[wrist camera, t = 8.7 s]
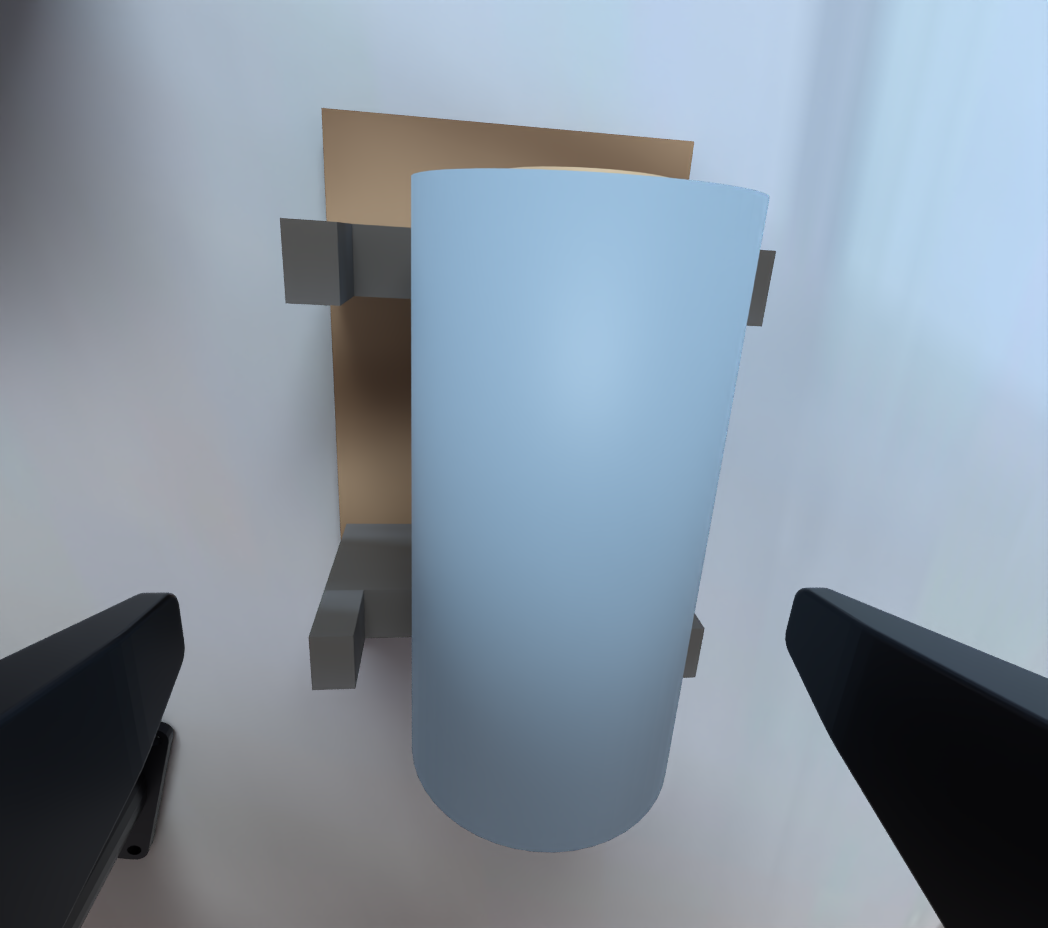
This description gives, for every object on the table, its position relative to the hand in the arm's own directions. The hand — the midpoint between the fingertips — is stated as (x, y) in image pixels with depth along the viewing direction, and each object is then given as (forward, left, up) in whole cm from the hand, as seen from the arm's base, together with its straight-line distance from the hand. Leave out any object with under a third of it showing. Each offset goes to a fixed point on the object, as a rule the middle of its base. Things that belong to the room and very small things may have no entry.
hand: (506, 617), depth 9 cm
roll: (0, -1, -4) cm, 4 cm away
